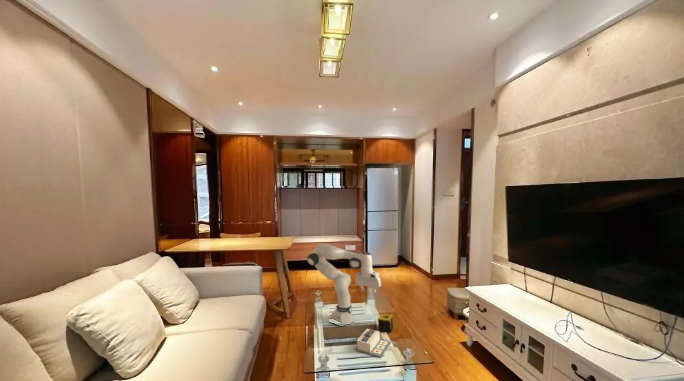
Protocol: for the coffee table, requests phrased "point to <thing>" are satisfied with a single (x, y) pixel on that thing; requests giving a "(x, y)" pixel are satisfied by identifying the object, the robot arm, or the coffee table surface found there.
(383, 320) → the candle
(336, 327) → the coffee table surface
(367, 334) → the switch
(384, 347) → the switch unit
